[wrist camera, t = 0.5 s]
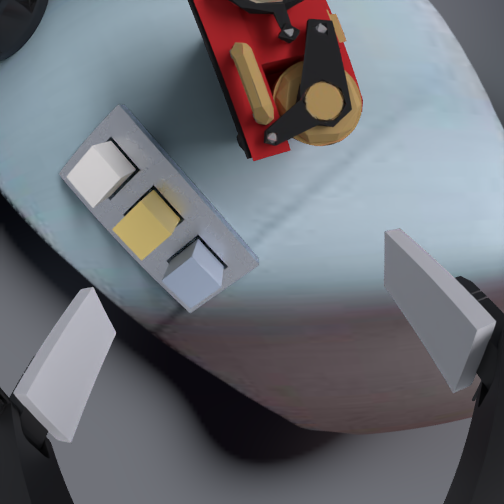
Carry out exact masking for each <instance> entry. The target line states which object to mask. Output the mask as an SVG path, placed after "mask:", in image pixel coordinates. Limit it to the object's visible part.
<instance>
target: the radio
mask: <svg viewBox="0 0 504 504" xmlns="http://www.w3.org/2000/svg"><path fill="white" fill-rule="evenodd" d="M188 2H189V5H190V7H191V10H192V12H193V15H194V18H195V20H196V23H197V25H198V28H199V30H200V33H201V35H202V38H203V41H204V43H205V46H206V48H207V51H208V54H209V56H210V59H211V61H212V64H213V67H214V69H215V72H216V75H217V77H218V80H219V83H220V85H221V88H222V91H223V93H224V96H225V99H226V102H227V104H228V107H229V110H230V112H231V115H232V118H233V121H234V123H235V126H236V129H237V132H238V135H237V140H238V144H239V146H240V147H241V148H242V149H243V150H244V151H245V154H246V157H247V159H249V158H253V161H256V160H259V159H262V158H266V157H269V156H273V155H276V154H280V153H283V152H287V151H290V147H289V144H288V141H287V140H289V139H291V138H294V139H296V140H298V141H300V142H303V143H306V144H309V145H314V146H326V145H331V144H335V143H337V142H340V141H342V140H343V139H344V138H346V137H347V136H348V135H349V134H350V133H351V132H352V131H353V130H354V129H355V127H356V125H357V124H358V121H359V119H360V116H361V112H362V104H363V99H362V96H361V93H360V90H359V86H358V83H357V80H356V77H355V74H354V71H353V68H352V65H351V62H350V59H349V56H348V54H347V51H346V48H345V46H344V43H343V42H345V41H346V38H345V36H344V33H343V30H342V28H341V25H340V23H339V20H338V18H337V15H336V14H332V13H331V11H330V8H329V6H328V4H327V2H326V0H188Z"/></svg>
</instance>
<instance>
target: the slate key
mask: <svg viewBox="0 0 504 504" xmlns="http://www.w3.org/2000/svg"><path fill="white" fill-rule="evenodd" d="M223 268H224V266H223V265H222V264H221V263H220V262H219V261H218V260H217V258H216V257H215V256H214V255H213V254H212V253H211V252H210V251H209V250H208V249H207V248H206V247H205V246H204V244H203V243H202V242H201V241H200V240H199V239H197V240H196V241H194V242H193V243H192V244H191V245H189V246H188V247H187V248H186V249H184V250H183V251H182V252H181V253H180V254H178V255H177V256H176V257H175V258H173V259H172V260H171V261H170V263H169V265H168V267H167V270H166V272H165V274H164V276H163V279H162V282H163V283H164V284H165V285H166V286H167V287H168V288H169V289H170V290H171V291H172V292H173V293H175V294H176V295H177V296H178V297H179V298H180V299H181V300H182V301H183V302H184V303H185V304H186V305H187V306H188V307H189V308H190V309H191V308H192V307H194V306H195V305H197V304H198V303H199V302H201V301H202V300H204V299H205V298H207V297H208V296H209V295H211V294H212V293H214V292H215V291H216V290H218V289H219V288H221V286H222V277H223Z"/></svg>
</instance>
